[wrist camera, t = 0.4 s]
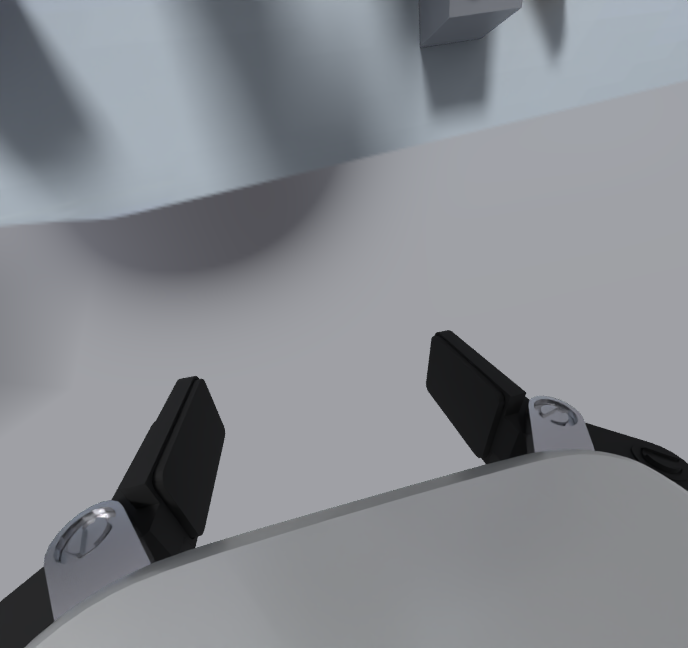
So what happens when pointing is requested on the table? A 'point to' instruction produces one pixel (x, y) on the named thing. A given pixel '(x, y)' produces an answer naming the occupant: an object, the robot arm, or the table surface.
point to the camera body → (461, 19)
